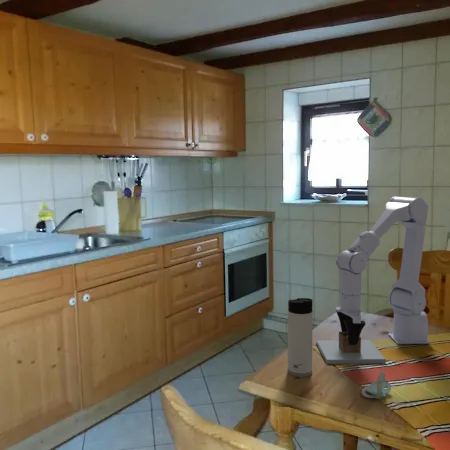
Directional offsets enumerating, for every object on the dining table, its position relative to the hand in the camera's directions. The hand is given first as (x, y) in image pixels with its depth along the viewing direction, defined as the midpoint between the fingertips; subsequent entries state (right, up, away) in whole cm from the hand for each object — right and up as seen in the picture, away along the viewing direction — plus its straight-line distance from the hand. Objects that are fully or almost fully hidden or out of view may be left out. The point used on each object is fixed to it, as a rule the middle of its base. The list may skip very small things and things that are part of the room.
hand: (349, 339), depth 133 cm
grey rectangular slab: (0, -4, 0) cm, 4 cm away
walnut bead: (0, -3, 0) cm, 3 cm away
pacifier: (0, -8, -23) cm, 24 cm away
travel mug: (-16, -6, -11) cm, 20 cm away
